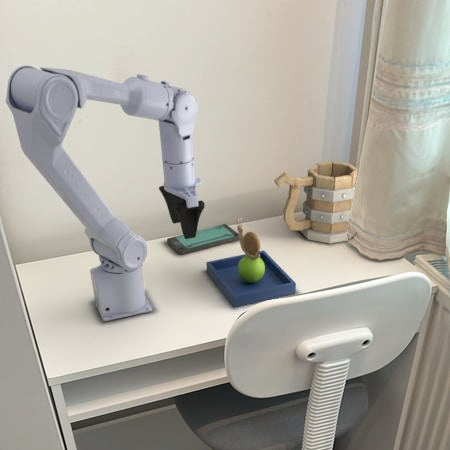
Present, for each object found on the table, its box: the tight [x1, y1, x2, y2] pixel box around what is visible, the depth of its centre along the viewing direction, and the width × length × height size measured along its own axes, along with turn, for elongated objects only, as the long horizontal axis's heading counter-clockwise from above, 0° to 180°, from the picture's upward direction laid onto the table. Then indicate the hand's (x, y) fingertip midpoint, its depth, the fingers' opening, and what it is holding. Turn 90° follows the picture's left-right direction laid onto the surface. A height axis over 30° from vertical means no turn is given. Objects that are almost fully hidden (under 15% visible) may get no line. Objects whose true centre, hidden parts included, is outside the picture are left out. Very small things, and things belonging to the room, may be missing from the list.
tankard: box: [274, 160, 359, 245], centre depth 139 cm, size 20×13×15 cm, turn 108°
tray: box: [205, 250, 297, 308], centre depth 127 cm, size 15×13×2 cm
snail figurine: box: [236, 217, 265, 283], centre depth 124 cm, size 5×6×12 cm
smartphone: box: [166, 223, 239, 256], centre depth 142 cm, size 7×1×15 cm
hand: (183, 229), depth 123 cm, fingers open, 7 cm apart
